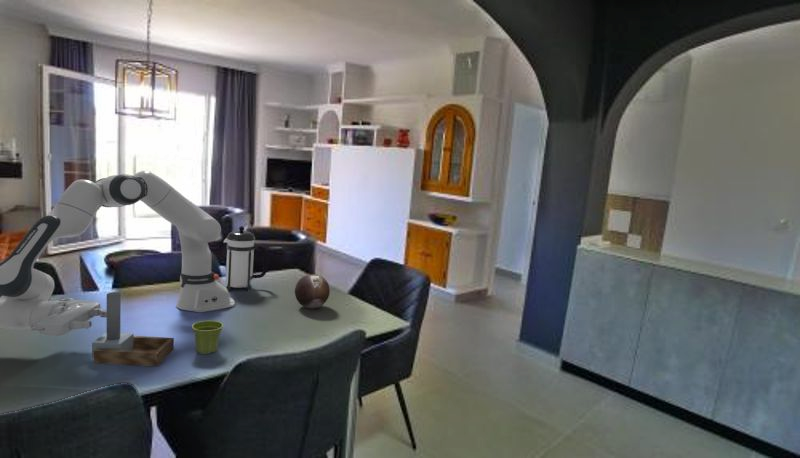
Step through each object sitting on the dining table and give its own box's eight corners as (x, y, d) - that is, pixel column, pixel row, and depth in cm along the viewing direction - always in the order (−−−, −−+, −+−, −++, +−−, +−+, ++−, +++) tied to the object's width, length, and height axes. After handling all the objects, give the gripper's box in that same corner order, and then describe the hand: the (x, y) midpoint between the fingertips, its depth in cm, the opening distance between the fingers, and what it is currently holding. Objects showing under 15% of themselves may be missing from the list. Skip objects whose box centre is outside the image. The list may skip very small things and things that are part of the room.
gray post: (133, 348, 145) (134, 291, 142) (120, 359, 137) (120, 298, 134) (106, 347, 144) (107, 289, 141) (92, 358, 136) (91, 297, 134)
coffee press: (237, 294, 209) (240, 230, 205) (215, 287, 217) (218, 225, 213) (267, 287, 224) (270, 227, 220) (245, 280, 232) (248, 222, 228)
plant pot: (197, 343, 154) (197, 319, 153) (225, 345, 155) (226, 321, 154) (186, 355, 145) (187, 329, 144) (217, 357, 146) (218, 331, 144)
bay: (173, 349, 148) (173, 338, 147) (157, 366, 136) (157, 353, 136) (115, 346, 146) (115, 334, 146) (93, 363, 135) (93, 350, 134)
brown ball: (304, 315, 191) (307, 280, 189) (287, 304, 202) (289, 271, 200) (334, 310, 201) (337, 277, 199) (317, 300, 212) (319, 269, 210)
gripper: (25, 317, 127) (78, 321, 128) (71, 296, 147) (117, 299, 148) (26, 339, 127) (78, 342, 129) (71, 315, 148) (116, 317, 149)
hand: (99, 319), depth 139 cm, fingers open, 8 cm apart
